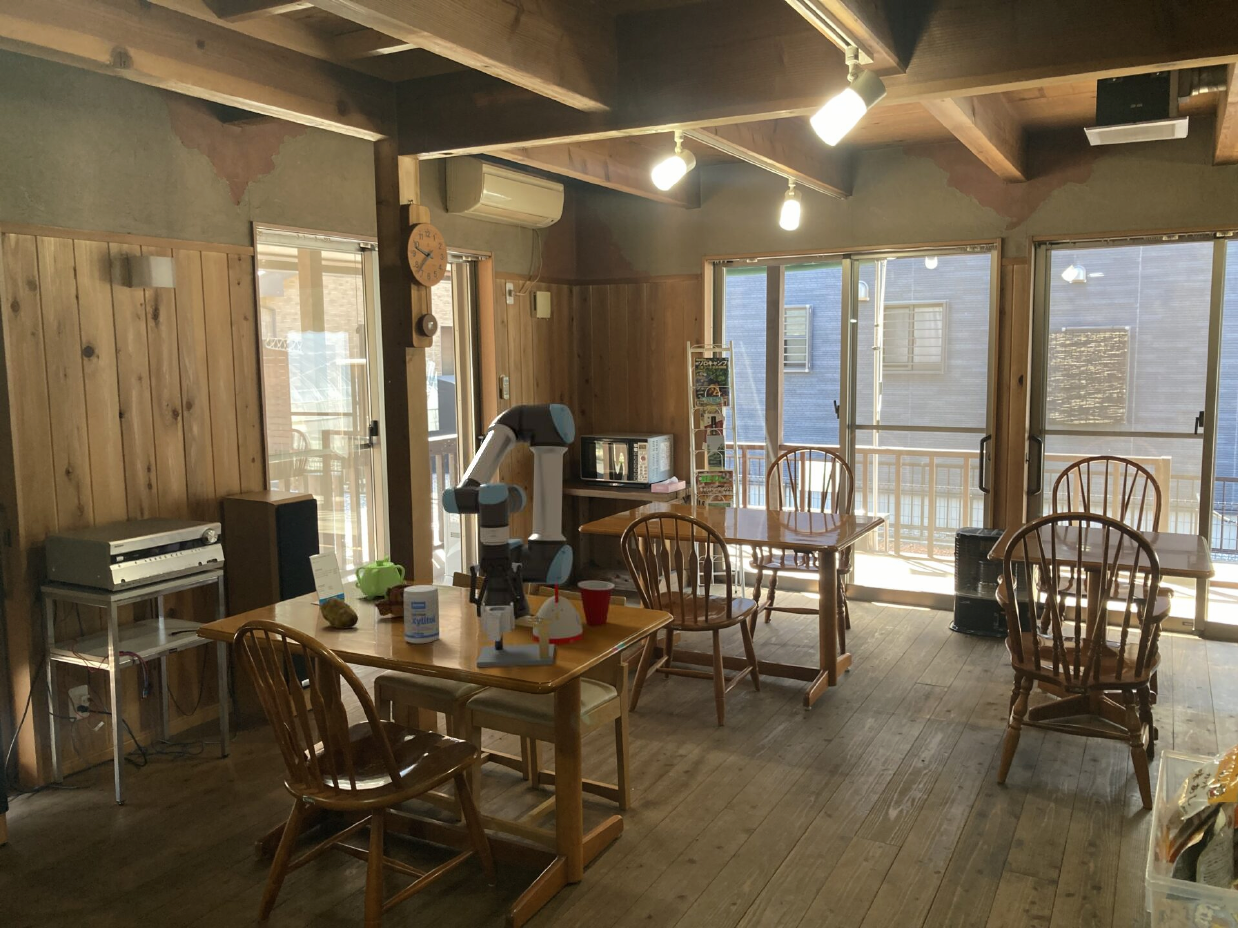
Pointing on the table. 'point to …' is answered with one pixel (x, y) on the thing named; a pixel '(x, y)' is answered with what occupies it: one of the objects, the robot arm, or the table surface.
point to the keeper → (543, 631)
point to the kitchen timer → (560, 620)
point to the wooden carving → (393, 601)
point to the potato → (339, 613)
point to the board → (514, 656)
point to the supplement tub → (421, 614)
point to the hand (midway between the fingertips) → (498, 628)
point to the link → (496, 621)
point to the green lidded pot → (379, 578)
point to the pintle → (499, 644)
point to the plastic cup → (595, 601)
